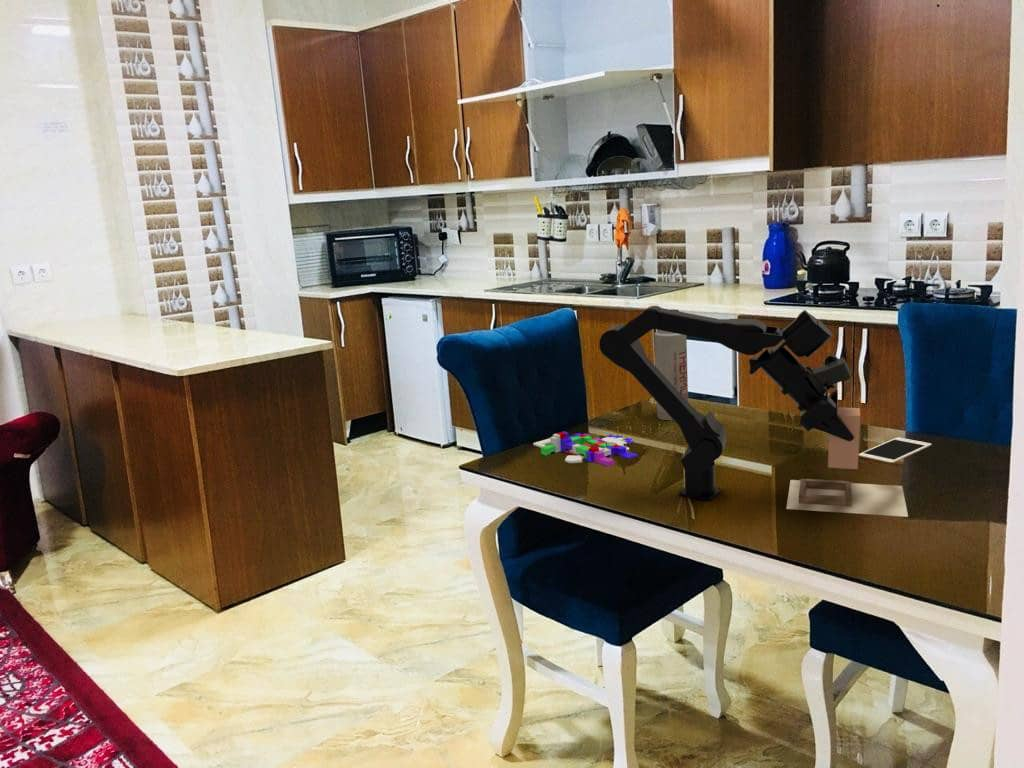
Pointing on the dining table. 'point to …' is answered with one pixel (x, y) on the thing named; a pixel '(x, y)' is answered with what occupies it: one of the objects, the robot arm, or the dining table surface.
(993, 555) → the dining table surface
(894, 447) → the cell phone
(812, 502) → the board
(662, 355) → the thermos bottle
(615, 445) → the building block set
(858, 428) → the pillar
